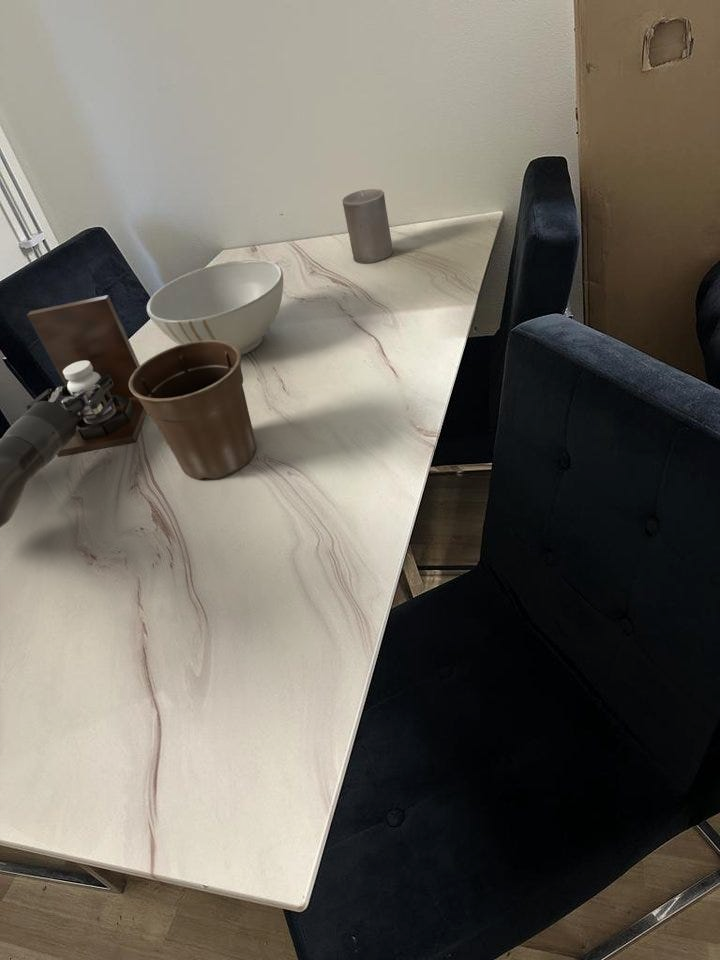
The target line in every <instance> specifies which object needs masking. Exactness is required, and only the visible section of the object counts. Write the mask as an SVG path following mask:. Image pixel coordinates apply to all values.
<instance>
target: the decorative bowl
mask: <svg viewBox="0 0 720 960" xmlns="http://www.w3.org/2000/svg"><path fill="white" fill-rule="evenodd" d="M283 293H284V274H283V269H282V268H281V267H280V266H279V265H278V264H276V263H275V262H272V261H269V260H265V259H264V260H263V259H237V260H231V261H224V262H220V263H216V264H212V265H209V266H205V267H202V268H199V269H196V270H193V271H190V272H188V273H186V274H184V275H182V276H179V277H177V278H175V279H173V280H172V281H170V282H168V283H166V284H165V285H164V286H162V287H161V288H159V289H158V290H157V291H156V292H155V293H153V295H152V296H151V297H150V299H148V302H147V304H146V312H147V315H148V317H149V318H150V320H151V321H152V322H153V323H154V325H155V326H156V327H157V328H158V329H159V330H160V331H161V332H162V333H163V335H165V336H166V337H168V338H169V339H170V340H171V341H173V342H174V343H176V344H177V345H181V344H185V343H189V342H195V341H203V340H221V341H226V342H229V343H232V344H234V345H235V346H236V347H237V348H238V349H239V350H240V353H241V356H243V355H246V354H247V353H249V352H251V351H252V350H254V349H256V348H257V347H258V346H259V345H260V344H261V343H262V341H263V340H264V339H263V338H264V335H265V334H266V333H267V332H268V330H270V328H271V326H272V325H273V323H274V321H275V319H276V318H277V316H278V313H279V310H280V307H281V304H282V299H283Z"/></svg>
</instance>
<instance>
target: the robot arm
mask: <svg viewBox="0 0 720 960" xmlns="http://www.w3.org/2000/svg"><path fill="white" fill-rule="evenodd" d="M68 382H69V381H68ZM68 382H67V383H66V384H63V385H61V386H58V387H56V388H55V390H53V389H52V388H47V389H46V390H45V391H43V392H42V393H41V394H39V395H38V396H37V397H36V398H34V399H33V400H32V401H30V402H29V403H28V404H27V405H26V406H25V407H24V409H25V411H26V412H24V413H23V414H22V415H21V416H20V417H19V418H18V419H17V420H16V421H15V422H14V423H13V424H11V426H9V428H8V429H7V430H6V432H5V433H4V434H3V436H2V437H1V438H0V529H1V528H3V527H5V526H6V524H8V523H9V522H10V521H11V519H12V518H13V516H14V514H15V512H16V511H17V508H18V506H19V504H20V501H21V500H22V497H23V496H24V492H25V490H26V487H27V486H28V485H29V483H31V482H32V480H33V479H34V478H35V477H36V476H37V475H38V474H39V473H40V472H41V470H43V468H45V467H46V466H47V465H48V464H50V463H51V462H52V461H53V460H54V459H55V458H56V457H57V454H58V453H59V452H60V451H61V450H62V449H63V448H64V446H65V445H66V444H67V443H68V442H69V441H70V440H71V439H72V438H73V436H74V435H75V433H76V426H77V422H79V421H80V420H81V419H83V418H84V417H85V416H86V415H88V414H94V416H95V418H99V417H101V416H102V415H103V413H104V412H105V410H106V409H107V407H108V406H109V404H110V403H111V401H112V400H113V398H112V396H111V394H110V392H109V389H110V388H111V387H112V386H113V385H114V383H113V381H112V379H111V377H110V375H109V374H104V375H103V376H102V377H101V378H100V379H99V380H98V381H97V382H96V383H95V384H94V386H92V387H91V388H89V389H87V390H84V389H82V390H80V391H79V392H77V393H75V394H74V395H72V396H71V394H70V392H69V390H68V388H67V384H68ZM94 392H95V396H94V397H93V399H92V397H91V394H92V393H94ZM82 396H83V397H84V399H85V401H86V403H87V406H86V407H85V404H84V402H83V400H82V398H81V397H82ZM47 398H48V400H47Z"/></svg>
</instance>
